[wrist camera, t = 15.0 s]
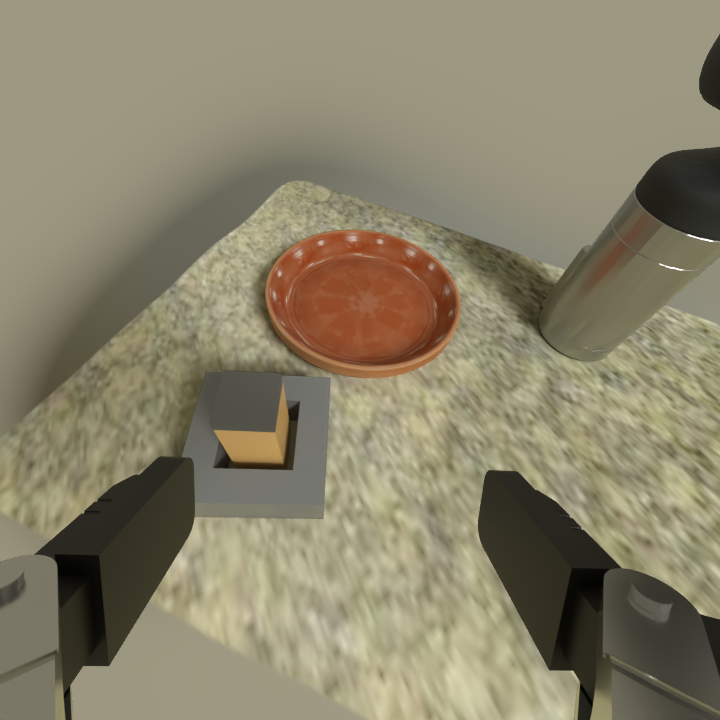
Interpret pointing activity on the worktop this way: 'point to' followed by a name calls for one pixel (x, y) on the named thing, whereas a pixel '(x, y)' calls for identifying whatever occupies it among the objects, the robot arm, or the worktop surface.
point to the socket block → (257, 486)
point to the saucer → (362, 303)
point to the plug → (252, 419)
